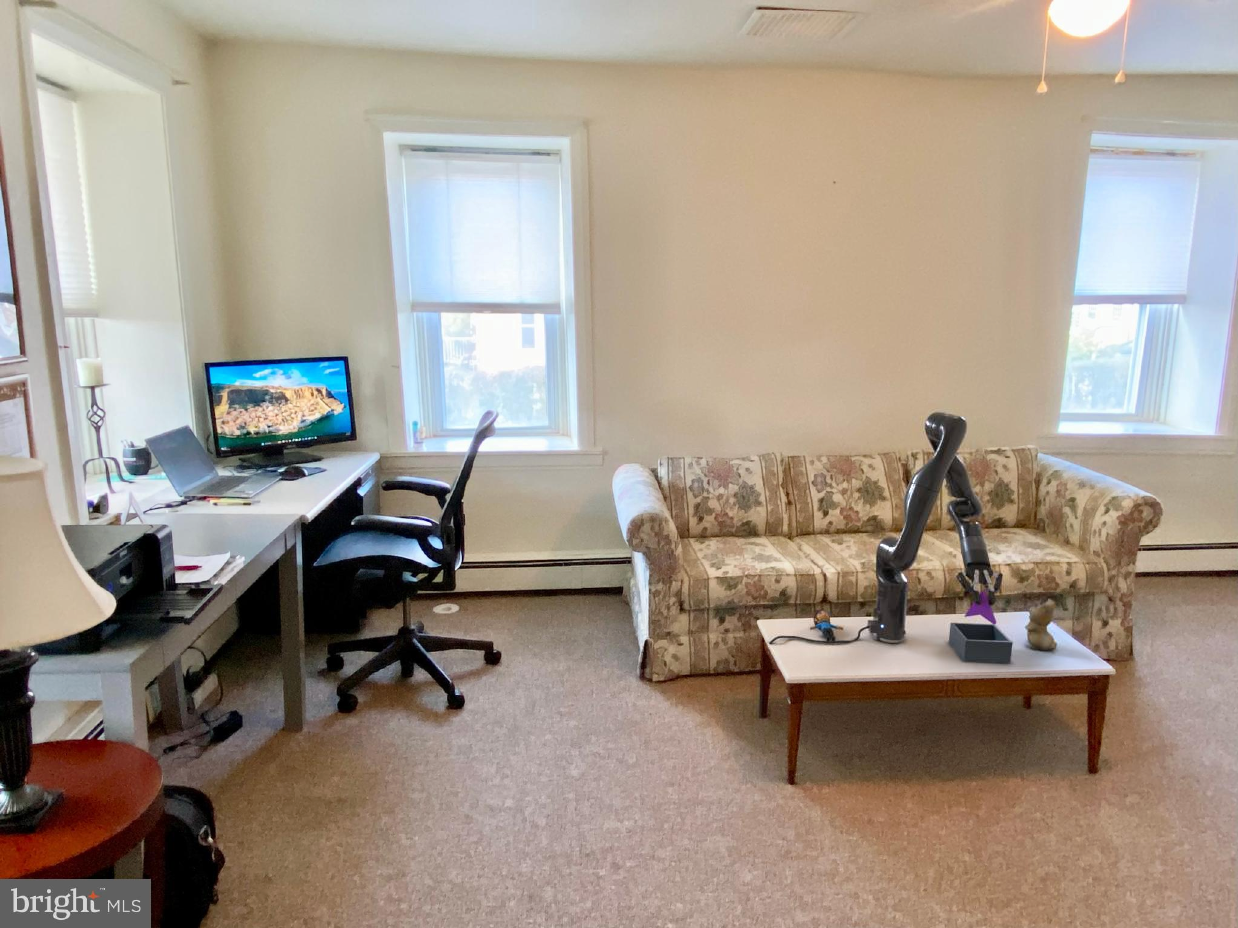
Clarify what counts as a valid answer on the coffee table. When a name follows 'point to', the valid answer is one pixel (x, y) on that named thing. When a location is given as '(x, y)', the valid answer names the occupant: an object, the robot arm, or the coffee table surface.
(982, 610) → the arrowhead
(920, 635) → the coffee table surface
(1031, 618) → the figurine
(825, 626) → the toy
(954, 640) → the bin
